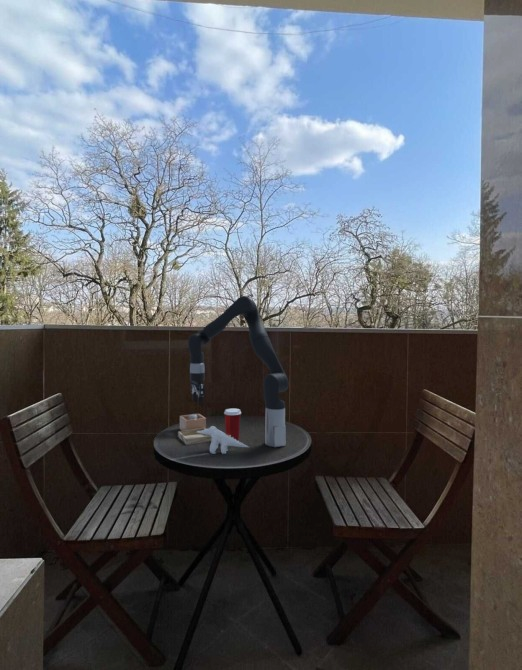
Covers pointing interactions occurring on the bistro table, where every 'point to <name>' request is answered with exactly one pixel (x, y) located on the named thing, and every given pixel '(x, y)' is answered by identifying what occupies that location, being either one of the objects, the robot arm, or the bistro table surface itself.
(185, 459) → the bistro table surface
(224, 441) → the dinosaur statue
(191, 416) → the stone
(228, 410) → the coffee cup
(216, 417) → the bistro table surface
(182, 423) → the bin
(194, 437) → the tray
